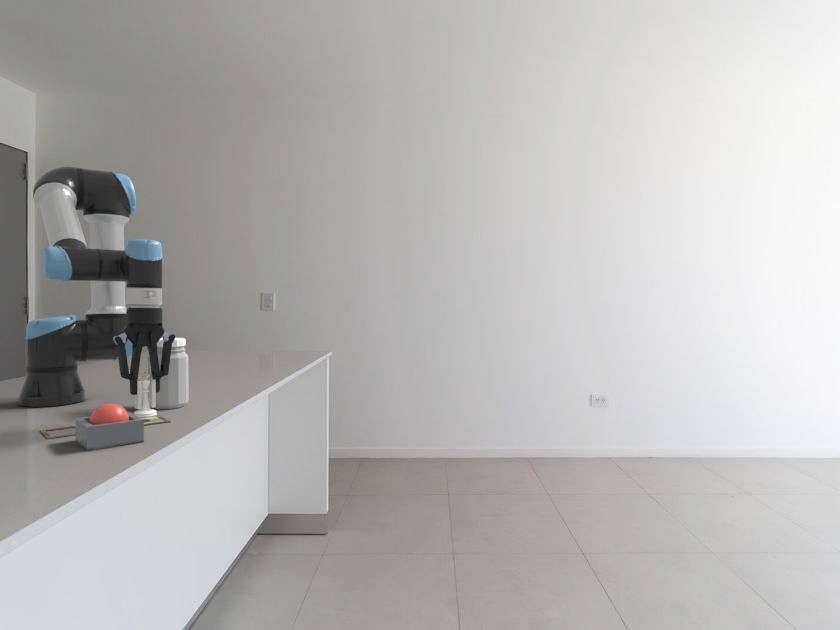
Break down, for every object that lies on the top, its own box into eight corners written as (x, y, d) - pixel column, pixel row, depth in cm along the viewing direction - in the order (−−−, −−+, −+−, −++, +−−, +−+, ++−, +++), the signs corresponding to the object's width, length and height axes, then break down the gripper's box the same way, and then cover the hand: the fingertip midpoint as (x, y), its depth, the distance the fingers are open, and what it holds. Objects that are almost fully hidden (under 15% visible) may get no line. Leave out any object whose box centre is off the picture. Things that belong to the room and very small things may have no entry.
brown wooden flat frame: (40, 431, 120) (40, 430, 120) (158, 415, 136) (158, 414, 136) (47, 439, 114) (47, 438, 114) (170, 421, 130) (170, 421, 130)
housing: (75, 440, 113) (75, 418, 113) (129, 432, 120) (129, 411, 120) (87, 450, 106) (87, 427, 105) (143, 441, 112) (143, 419, 112)
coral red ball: (85, 437, 113) (85, 403, 113) (123, 432, 118) (123, 399, 117) (94, 444, 108) (93, 408, 108) (133, 438, 112) (133, 404, 112)
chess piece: (147, 417, 127) (147, 374, 127) (128, 416, 128) (128, 373, 128) (161, 413, 132) (161, 371, 132) (143, 412, 133) (143, 370, 133)
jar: (140, 409, 144) (139, 339, 143) (162, 402, 154) (161, 336, 153) (175, 410, 143) (175, 340, 142) (195, 403, 153) (195, 337, 152)
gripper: (111, 307, 121) (112, 414, 122) (184, 306, 132) (184, 405, 133) (103, 306, 127) (103, 409, 128) (173, 306, 137) (173, 401, 138)
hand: (145, 407), depth 130 cm, fingers closed on chess piece, 2 cm apart
